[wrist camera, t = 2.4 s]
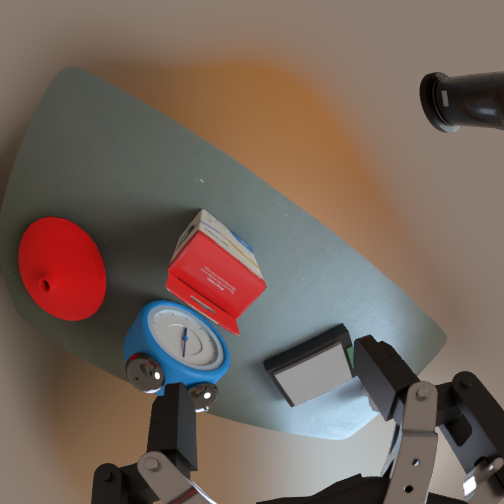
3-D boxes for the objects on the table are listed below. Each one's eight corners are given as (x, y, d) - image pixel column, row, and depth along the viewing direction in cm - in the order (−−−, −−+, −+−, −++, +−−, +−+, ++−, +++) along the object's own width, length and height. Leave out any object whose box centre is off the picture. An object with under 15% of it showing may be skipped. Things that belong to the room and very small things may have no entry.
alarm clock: (227, 326, 40) (238, 403, 26) (206, 352, 42) (209, 428, 28) (151, 283, 36) (125, 354, 22) (133, 314, 37) (107, 386, 24)
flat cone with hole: (79, 326, 37) (63, 353, 30) (16, 260, 31) (-8, 278, 25) (133, 268, 35) (119, 293, 29) (60, 188, 30) (32, 197, 23)
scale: (342, 323, 44) (350, 333, 41) (355, 366, 48) (362, 376, 46) (263, 361, 44) (266, 374, 41) (288, 398, 49) (292, 410, 46)
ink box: (252, 246, 37) (277, 303, 23) (228, 273, 37) (239, 341, 24) (201, 206, 34) (196, 243, 20) (178, 235, 35) (159, 289, 21)
